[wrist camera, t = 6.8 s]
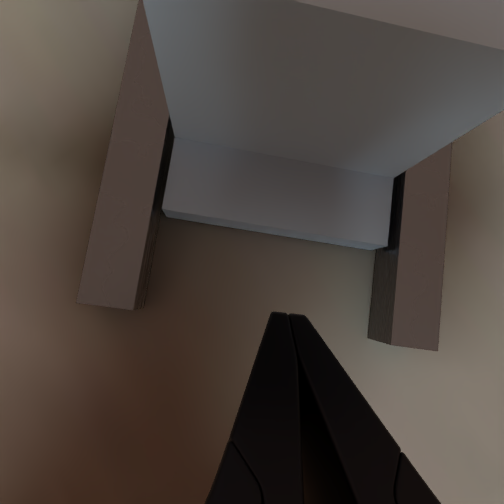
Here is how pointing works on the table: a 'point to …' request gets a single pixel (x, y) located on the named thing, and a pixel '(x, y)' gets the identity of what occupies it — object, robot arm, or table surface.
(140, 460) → the table surface
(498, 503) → the table surface
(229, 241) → the table surface
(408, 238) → the vise
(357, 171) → the jaw
